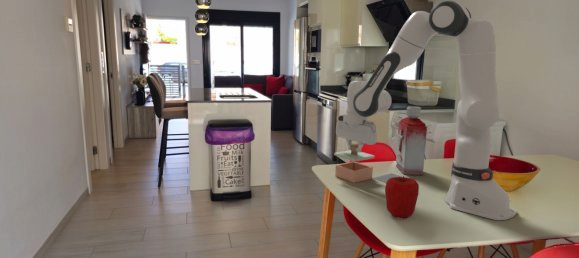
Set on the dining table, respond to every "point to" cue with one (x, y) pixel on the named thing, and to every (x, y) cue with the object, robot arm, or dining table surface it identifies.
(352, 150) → the lid
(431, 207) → the dining table surface
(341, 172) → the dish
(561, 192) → the dining table surface
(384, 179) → the mat
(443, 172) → the dining table surface
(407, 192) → the apple
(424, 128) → the bottle
